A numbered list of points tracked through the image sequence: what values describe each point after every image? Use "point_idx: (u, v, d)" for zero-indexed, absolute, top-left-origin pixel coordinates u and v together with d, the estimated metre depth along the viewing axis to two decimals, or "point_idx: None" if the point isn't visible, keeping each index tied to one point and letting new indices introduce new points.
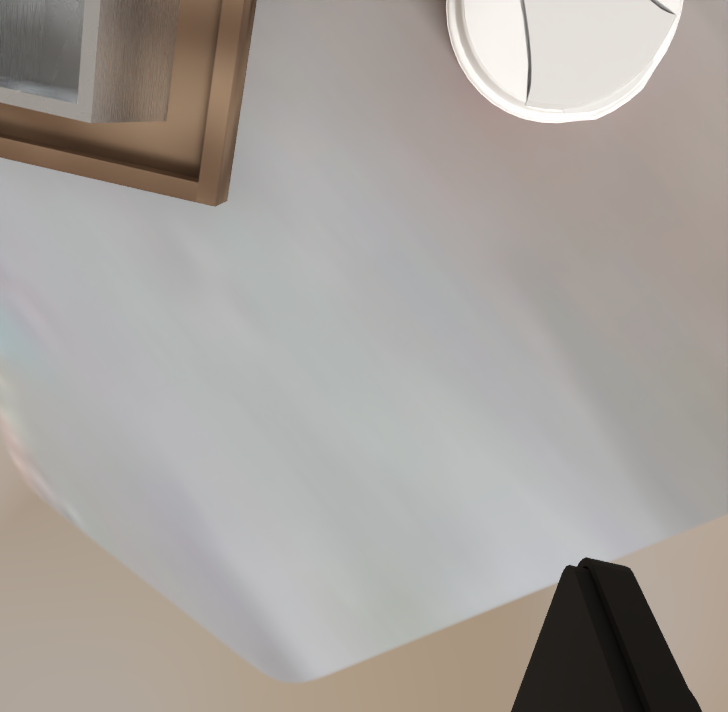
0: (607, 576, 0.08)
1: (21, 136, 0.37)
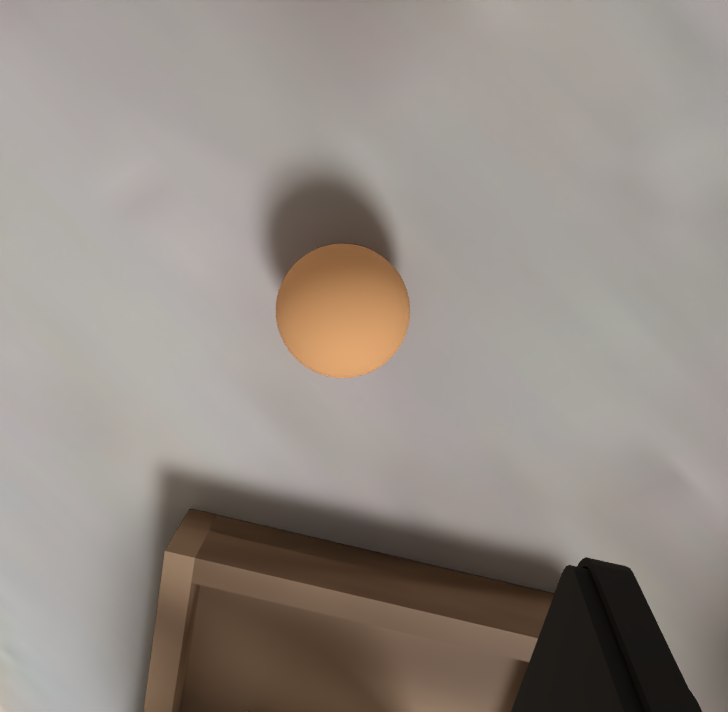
0: (607, 576, 0.08)
1: None
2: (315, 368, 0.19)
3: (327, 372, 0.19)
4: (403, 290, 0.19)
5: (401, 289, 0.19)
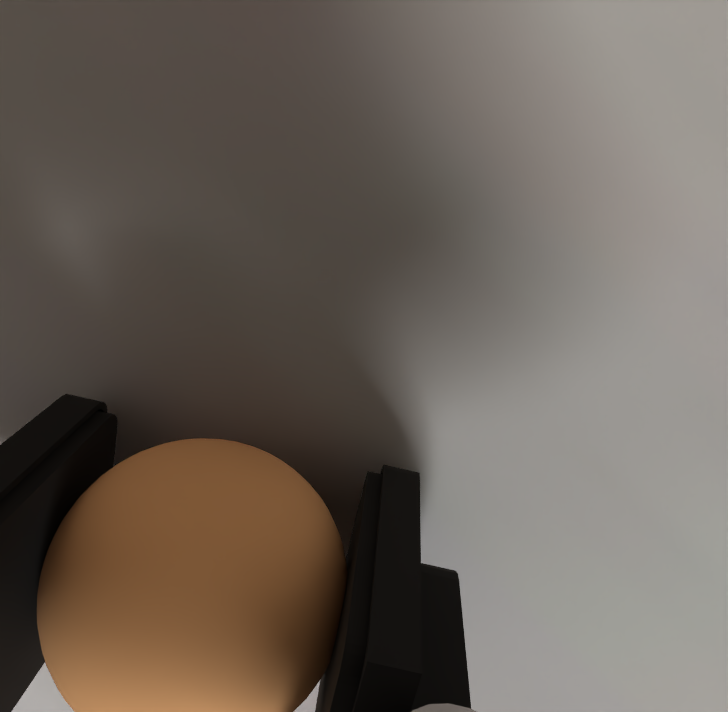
0: (393, 477, 0.09)
1: None
2: None
3: None
4: (328, 561, 0.08)
5: (322, 563, 0.08)
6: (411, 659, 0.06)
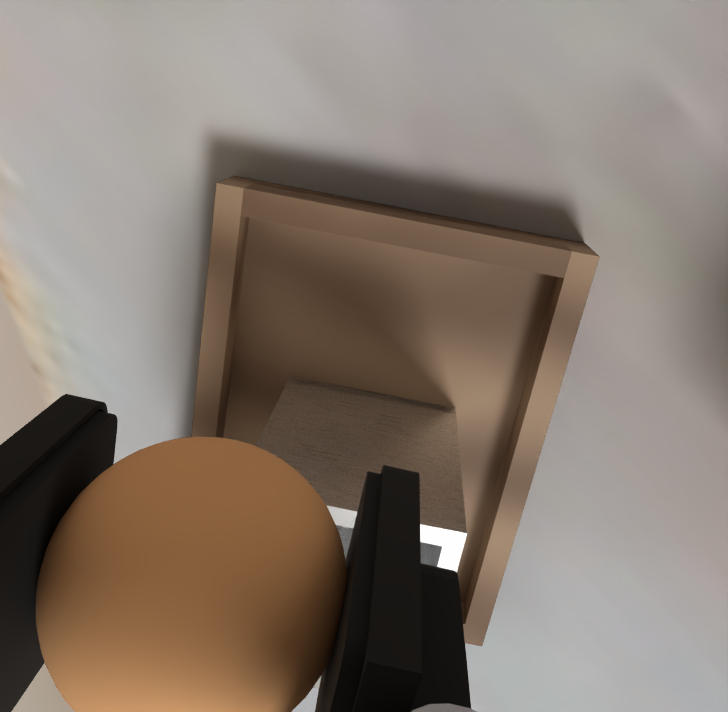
0: (393, 477, 0.09)
1: None
2: None
3: None
4: (328, 559, 0.08)
5: (321, 561, 0.08)
6: (411, 658, 0.06)
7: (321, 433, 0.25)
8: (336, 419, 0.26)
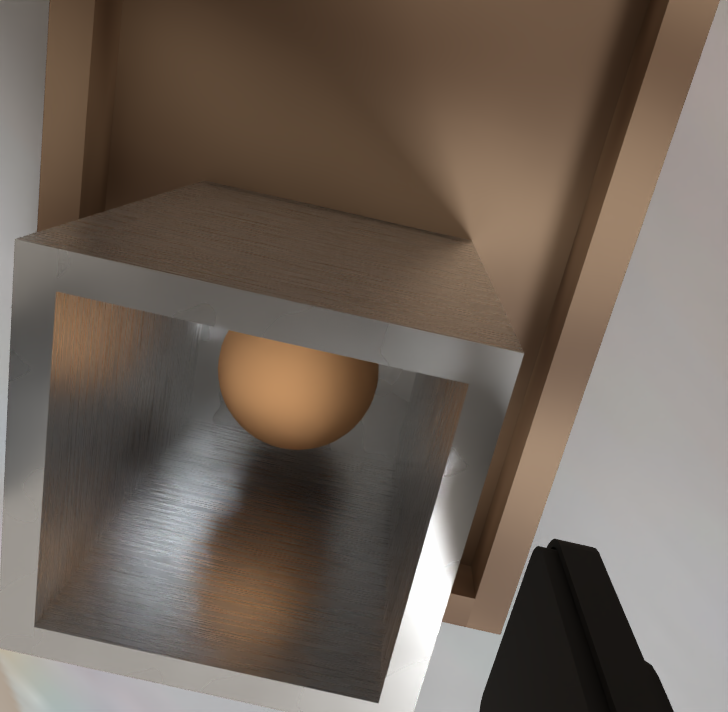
0: (574, 556, 0.09)
1: None
2: (264, 439, 0.16)
3: (279, 445, 0.16)
4: None
5: None
6: None
7: (238, 223, 0.14)
8: (269, 218, 0.15)
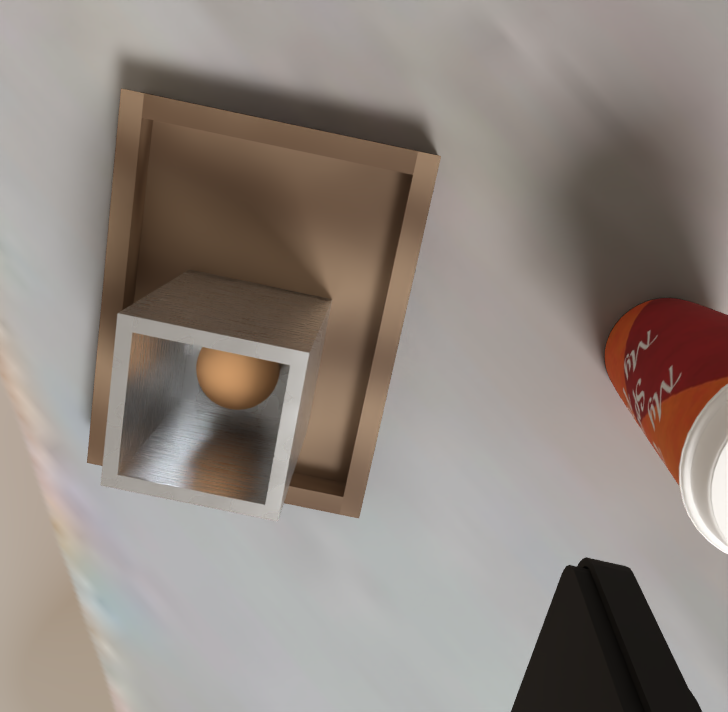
0: (607, 576, 0.08)
1: None
2: (219, 404, 0.32)
3: (227, 406, 0.32)
4: None
5: None
6: None
7: (204, 298, 0.29)
8: (220, 293, 0.31)
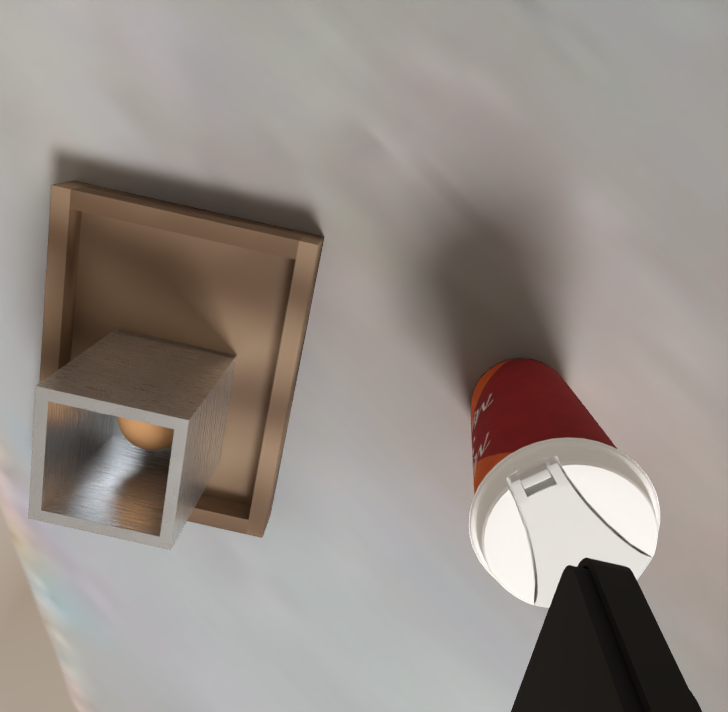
0: (607, 576, 0.08)
1: None
2: (136, 445, 0.38)
3: (142, 448, 0.38)
4: None
5: None
6: None
7: (118, 362, 0.35)
8: (135, 355, 0.37)
